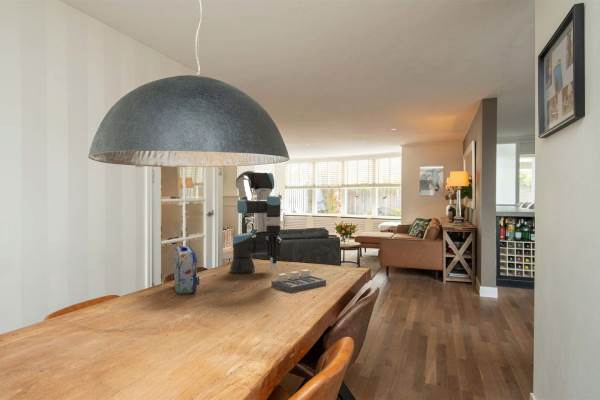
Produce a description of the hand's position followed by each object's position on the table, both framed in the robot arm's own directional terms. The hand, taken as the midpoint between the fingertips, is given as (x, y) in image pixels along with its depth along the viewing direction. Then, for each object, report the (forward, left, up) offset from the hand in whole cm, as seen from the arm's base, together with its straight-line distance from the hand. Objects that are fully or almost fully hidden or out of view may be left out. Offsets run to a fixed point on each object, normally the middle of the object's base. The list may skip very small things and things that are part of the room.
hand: (273, 269), depth 186 cm
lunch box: (-17, -41, -8) cm, 45 cm away
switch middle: (+8, +8, -5) cm, 12 cm away
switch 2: (+8, +16, -5) cm, 18 cm away
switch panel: (+12, +8, -8) cm, 16 cm away
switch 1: (+8, 0, -5) cm, 9 cm away
